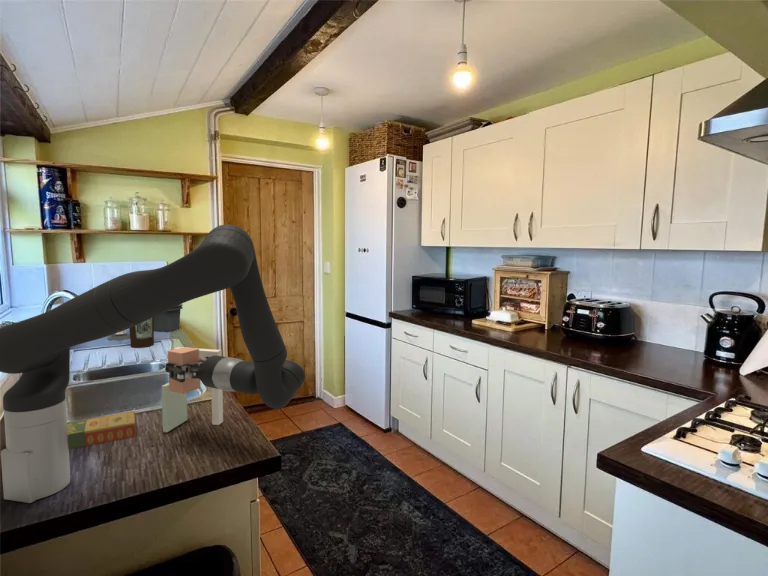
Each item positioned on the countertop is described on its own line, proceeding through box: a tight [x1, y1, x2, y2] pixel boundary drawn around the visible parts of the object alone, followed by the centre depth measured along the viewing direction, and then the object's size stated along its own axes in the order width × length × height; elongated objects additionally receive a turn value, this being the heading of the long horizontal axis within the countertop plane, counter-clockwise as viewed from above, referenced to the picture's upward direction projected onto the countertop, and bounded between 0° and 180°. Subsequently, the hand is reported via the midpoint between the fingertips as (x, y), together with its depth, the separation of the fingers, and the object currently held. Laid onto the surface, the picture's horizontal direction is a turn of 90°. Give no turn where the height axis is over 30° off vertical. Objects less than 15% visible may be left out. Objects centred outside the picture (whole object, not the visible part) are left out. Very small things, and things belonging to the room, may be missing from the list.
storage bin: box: [154, 303, 184, 333], centre depth 232 cm, size 21×16×14 cm
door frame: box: [172, 346, 224, 426], centre depth 114 cm, size 2×13×20 cm, turn 79°
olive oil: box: [128, 317, 155, 349], centre depth 196 cm, size 11×11×25 cm
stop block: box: [167, 346, 201, 394], centre depth 104 cm, size 5×5×10 cm
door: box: [161, 382, 188, 433], centre depth 110 cm, size 1×8×12 cm, turn 169°
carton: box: [67, 411, 137, 450], centre depth 104 cm, size 8×16×4 cm, turn 121°
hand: (176, 364), depth 105 cm, fingers closed on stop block, 5 cm apart
